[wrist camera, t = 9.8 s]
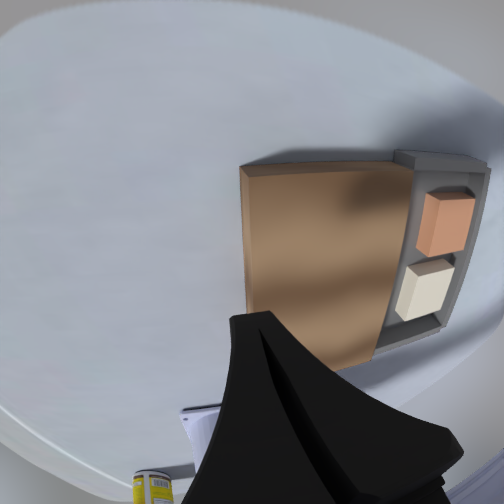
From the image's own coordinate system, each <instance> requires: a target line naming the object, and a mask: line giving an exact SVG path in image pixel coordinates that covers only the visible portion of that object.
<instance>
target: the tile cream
mask: <svg viewBox="0 0 504 504" xmlns="http://www.w3.org/2000/svg"><path fill="white" fill-rule="evenodd" d="M454 269H455V267H454V266H452V265H451V264H450V263H449V262H447V261H446V260H445V259H439V260H434V261H429V262H425V263H420V264H415V265H410V266H407V268H406V272H405V276H404V280H403V283H402V287H401V291H400V295H399V298H398V302H397V305H396V308H395V311H396V312H397V313H398V314H399V316H400V317H401V318H402V319H403V320H404V321H408V320H411V319H414V318H417V317H420V316H423V315H426V314H429V313H432V312H435V311H438V310H440V309H441V307H442V304H443V301H444V298H445V296H446V293H447V290H448V287H449V284H450V281H451V278H452V275H453V272H454Z"/></svg>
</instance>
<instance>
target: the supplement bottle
mask: <svg viewBox="0 0 504 504" xmlns="http://www.w3.org/2000/svg"><path fill="white" fill-rule="evenodd" d="M132 482H133V500H134V504H174V502H173V494H172V485H171V479H170V477H169V476H168V475H166V474H164V473H161V472H156V471H141V472H137V473H135V474H134V475H133V477H132Z"/></svg>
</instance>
